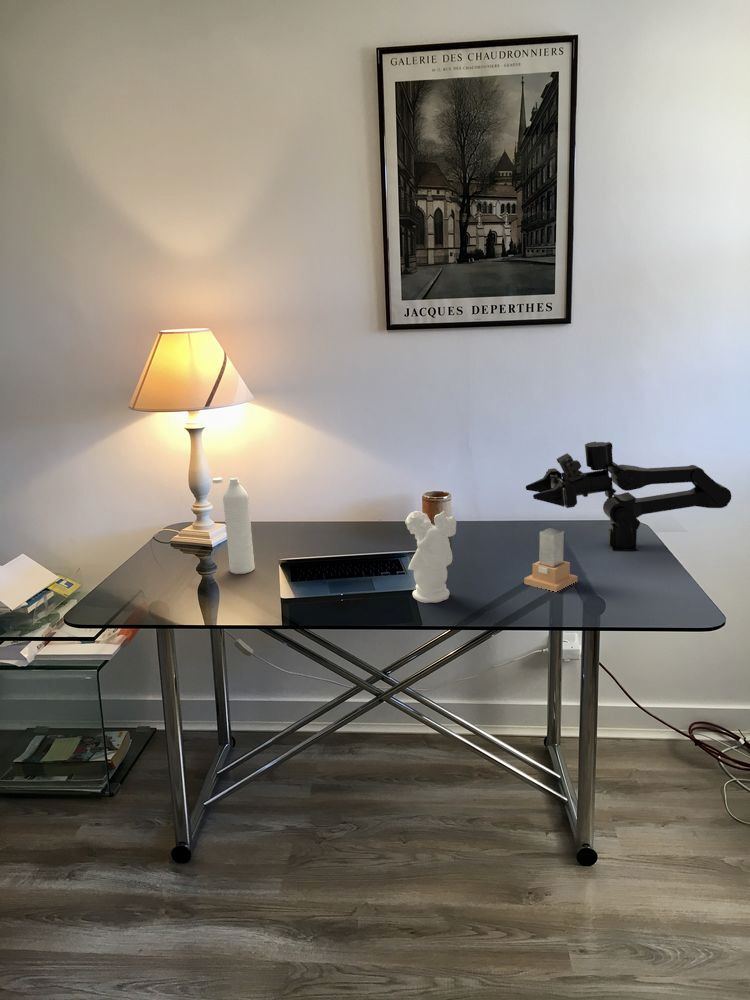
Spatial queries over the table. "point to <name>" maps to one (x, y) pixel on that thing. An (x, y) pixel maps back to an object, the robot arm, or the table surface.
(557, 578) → the stand
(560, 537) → the column
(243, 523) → the water bottle
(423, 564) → the cherub figurine
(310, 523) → the table surface
